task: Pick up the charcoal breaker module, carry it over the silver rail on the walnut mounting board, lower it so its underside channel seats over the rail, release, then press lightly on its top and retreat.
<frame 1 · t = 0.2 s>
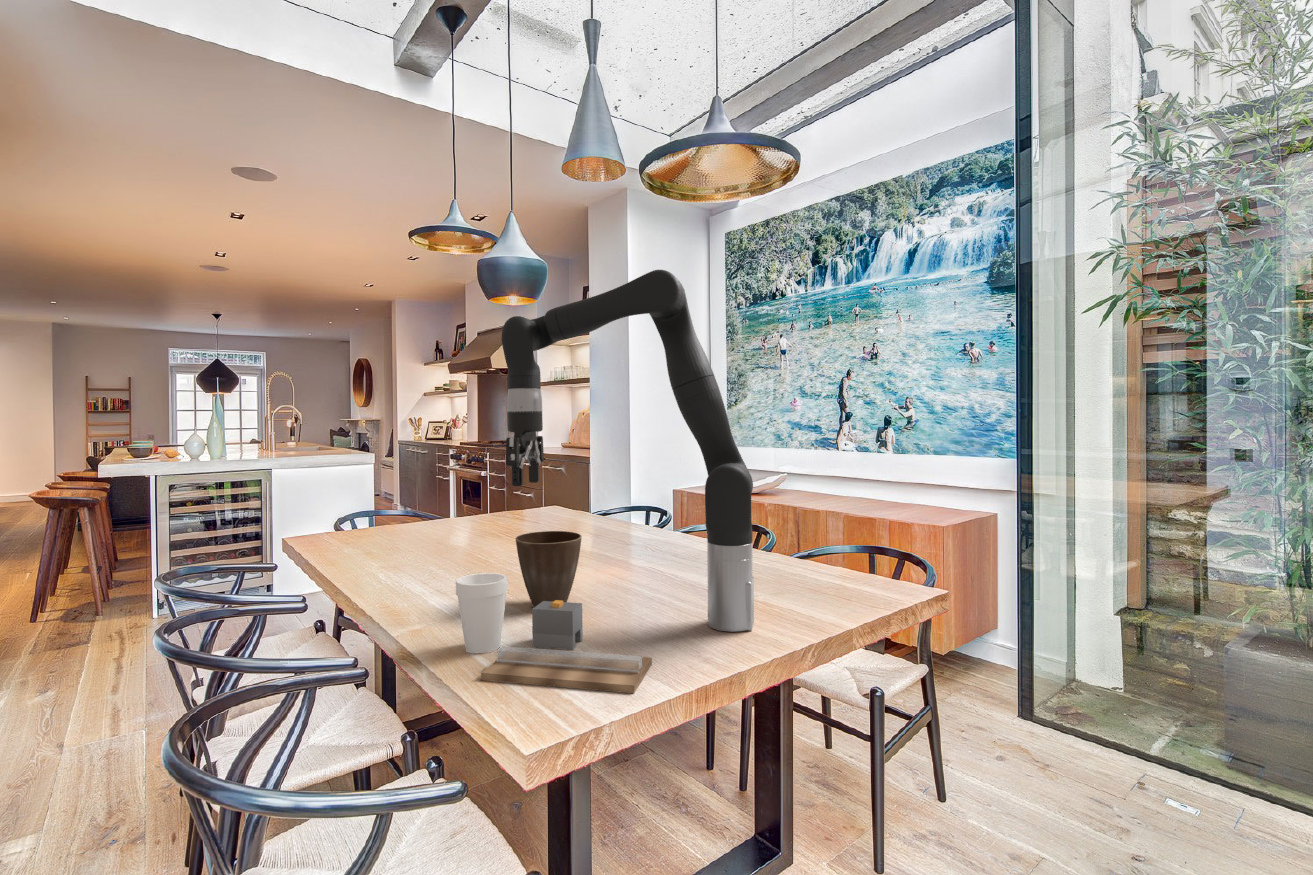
hand: (526, 484, 141), 29 cm above the table, tool pointing down, fingers open, 8 cm apart
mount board: (568, 671, 109), on the table
rail: (568, 659, 109), on the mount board, point 2 cm above the table
foam cup: (482, 648, 121), on the table
plant pot: (549, 606, 148), on the table
module: (558, 643, 123), on the table
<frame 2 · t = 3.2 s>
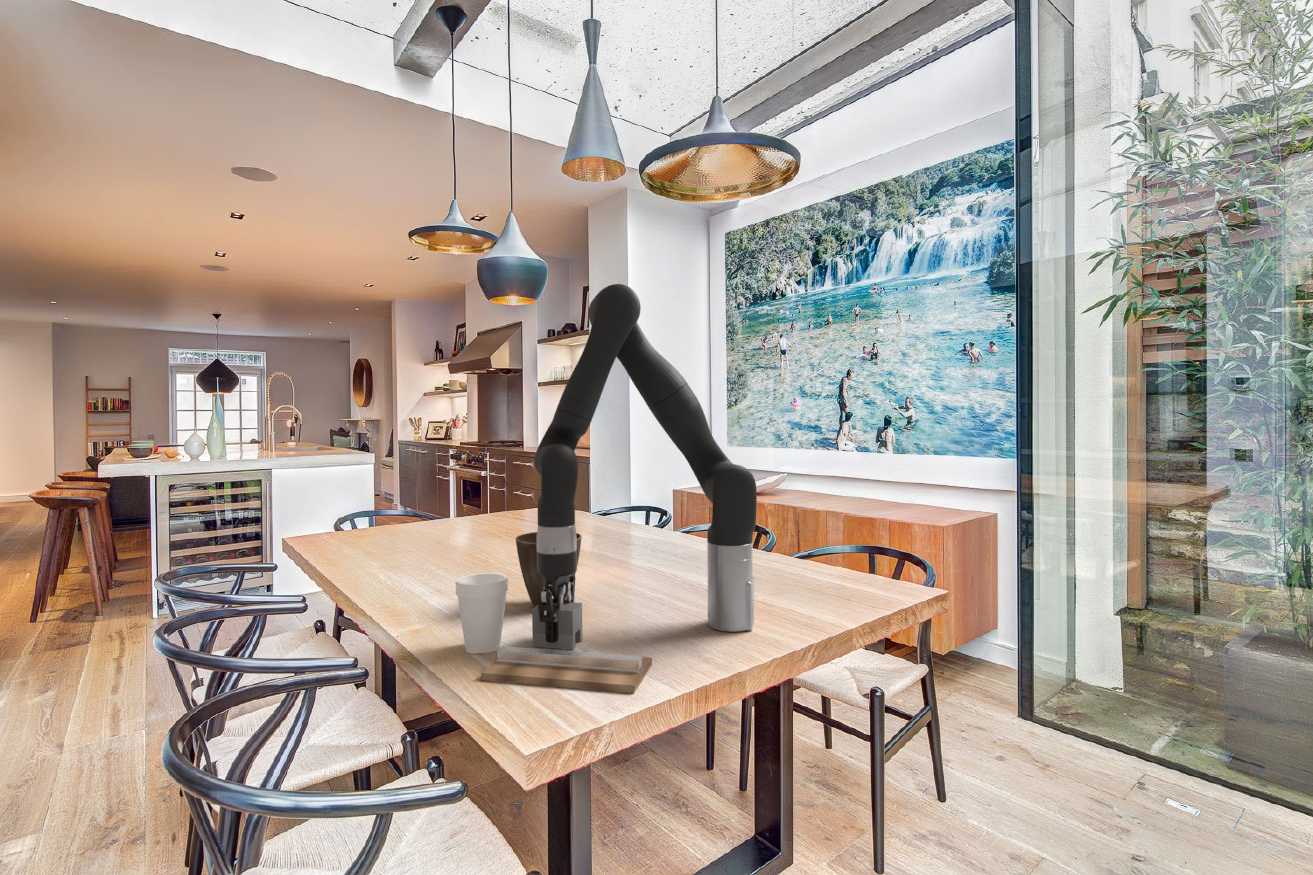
hand: (557, 636, 123), 1 cm above the table, tool pointing down, fingers closed on module, 5 cm apart
module: (558, 643, 123), on the table, touching gripper
everything else where it was.
when the fingers open (3 cm above the table, at t = 7.6 s): module stays where it is, resting on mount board.
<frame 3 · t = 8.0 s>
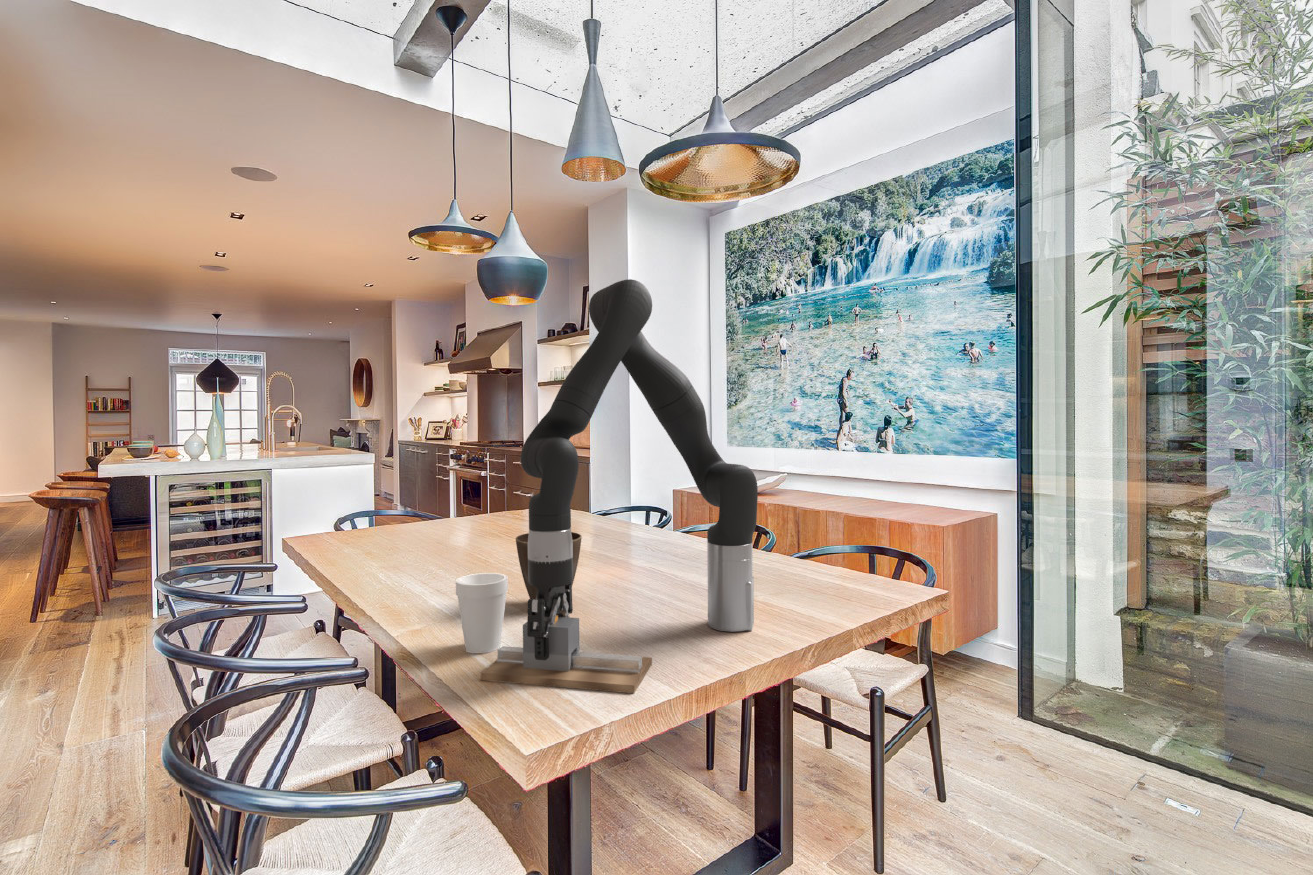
hand: (551, 650, 110), 3 cm above the table, tool pointing down, fingers open, 8 cm apart
module: (551, 663, 110), point 1 cm above the table, touching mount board
everything else where it was.
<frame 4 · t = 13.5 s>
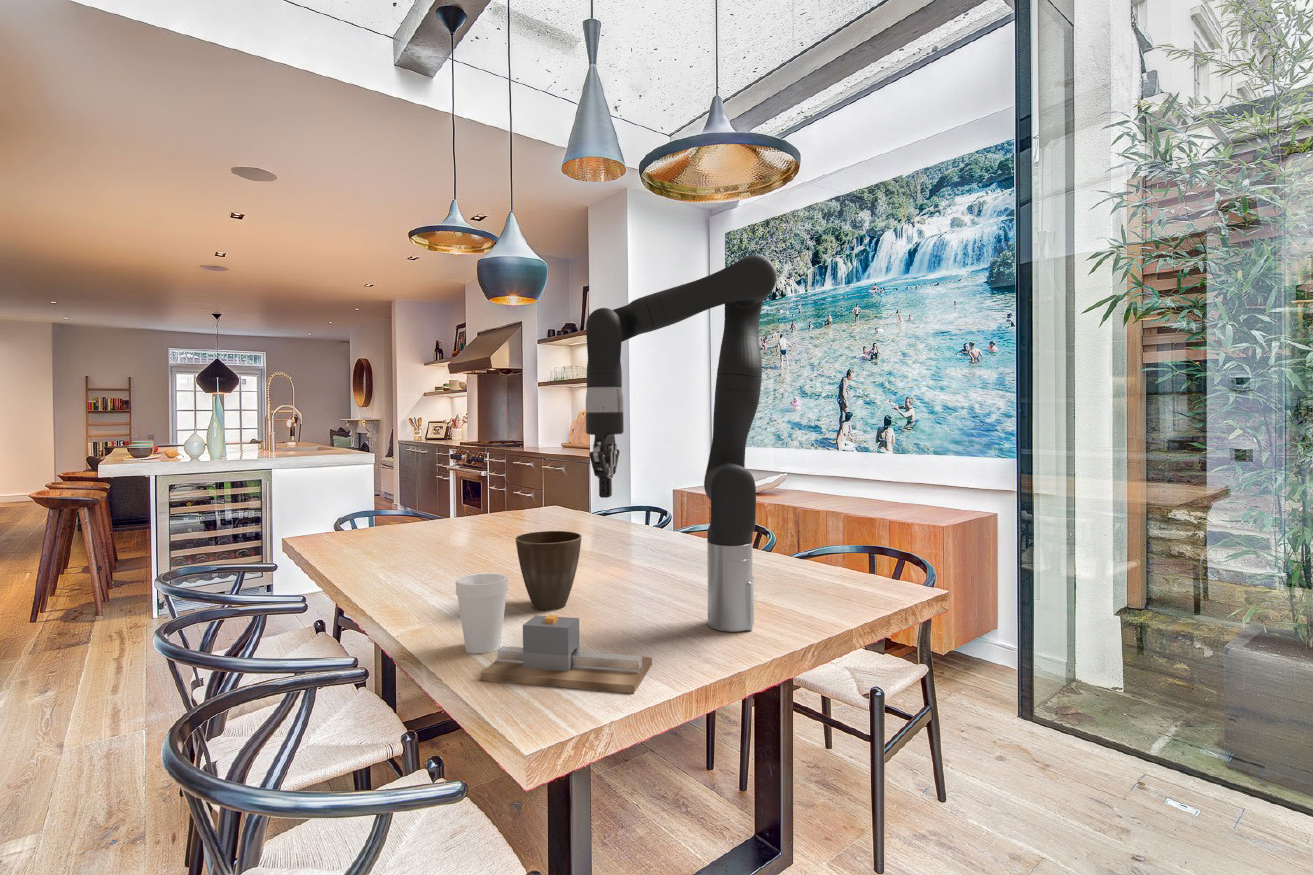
hand: (605, 497, 130), 27 cm above the table, tool pointing down, fingers closed
nothing on the table moved.
at the end: module inside the target area on the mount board (3.0 cm from its centre), point 1.2 cm above the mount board's base; module tilted 0°; the gripper is holding nothing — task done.
